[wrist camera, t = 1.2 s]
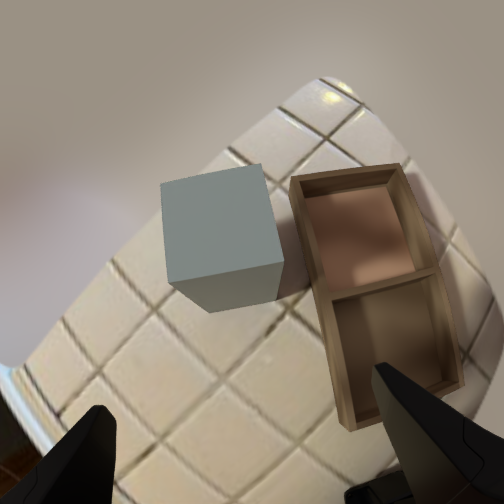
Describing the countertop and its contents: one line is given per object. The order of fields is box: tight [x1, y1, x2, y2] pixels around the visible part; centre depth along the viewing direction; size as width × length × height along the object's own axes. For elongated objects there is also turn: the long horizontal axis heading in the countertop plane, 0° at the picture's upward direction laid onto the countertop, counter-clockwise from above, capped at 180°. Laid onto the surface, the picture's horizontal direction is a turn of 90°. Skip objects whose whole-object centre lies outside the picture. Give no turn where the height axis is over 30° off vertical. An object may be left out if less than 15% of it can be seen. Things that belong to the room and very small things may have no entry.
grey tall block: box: [160, 163, 284, 313], centre depth 18 cm, size 5×5×10 cm
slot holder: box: [288, 163, 465, 432], centre depth 21 cm, size 18×9×3 cm, turn 11°
